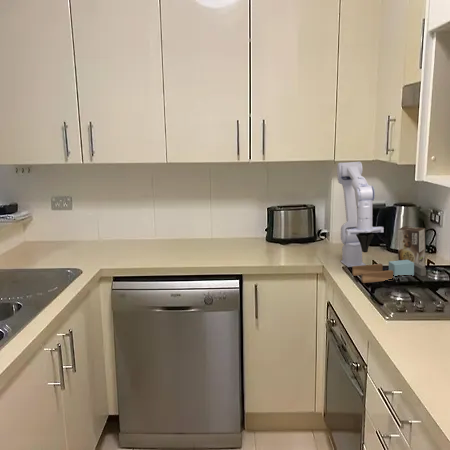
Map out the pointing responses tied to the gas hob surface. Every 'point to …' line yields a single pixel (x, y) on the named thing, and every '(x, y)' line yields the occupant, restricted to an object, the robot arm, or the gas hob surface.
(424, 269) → the block
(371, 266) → the chute
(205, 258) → the gas hob surface
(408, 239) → the cookie box
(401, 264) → the block
